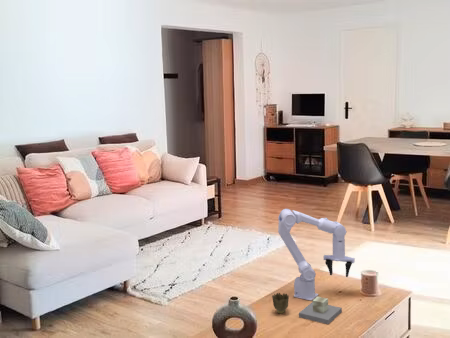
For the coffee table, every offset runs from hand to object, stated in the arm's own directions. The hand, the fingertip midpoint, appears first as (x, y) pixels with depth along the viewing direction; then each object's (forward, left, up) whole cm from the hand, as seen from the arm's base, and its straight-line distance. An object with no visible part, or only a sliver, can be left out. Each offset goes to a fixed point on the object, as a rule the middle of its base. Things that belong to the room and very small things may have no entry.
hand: (339, 275), depth 250 cm
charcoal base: (+2, -25, -9) cm, 27 cm away
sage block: (+2, -25, -7) cm, 26 cm away
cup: (-14, -32, -10) cm, 36 cm away
